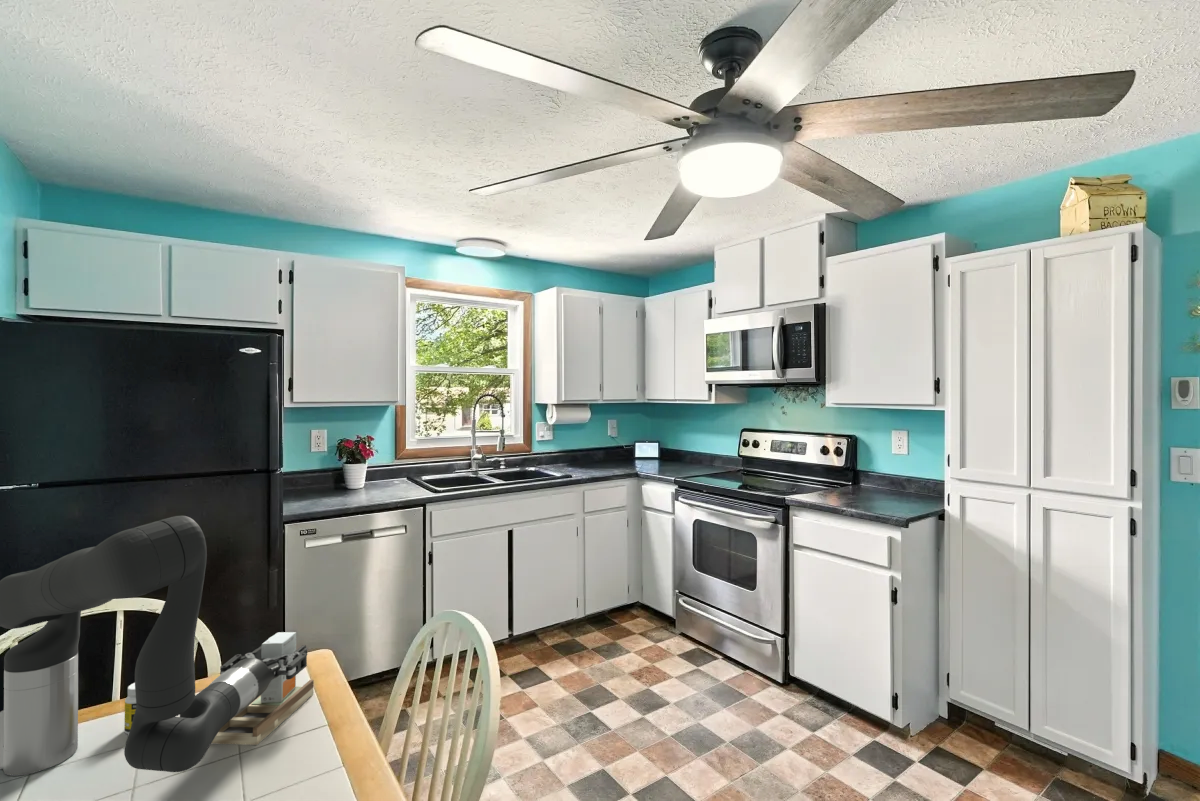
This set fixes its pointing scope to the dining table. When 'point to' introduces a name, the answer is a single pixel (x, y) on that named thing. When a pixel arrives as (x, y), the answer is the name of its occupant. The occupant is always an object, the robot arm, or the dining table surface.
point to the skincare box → (280, 685)
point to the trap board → (261, 718)
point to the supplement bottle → (130, 707)
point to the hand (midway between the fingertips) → (284, 650)
